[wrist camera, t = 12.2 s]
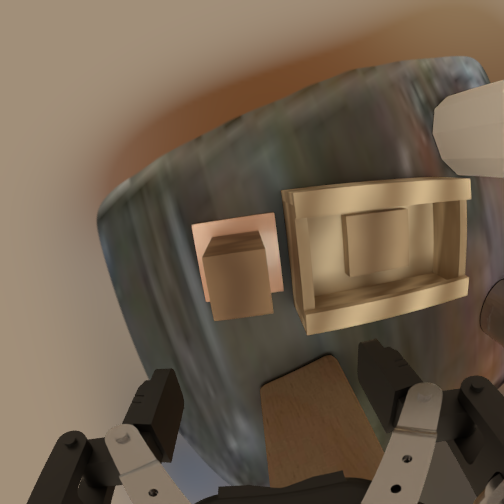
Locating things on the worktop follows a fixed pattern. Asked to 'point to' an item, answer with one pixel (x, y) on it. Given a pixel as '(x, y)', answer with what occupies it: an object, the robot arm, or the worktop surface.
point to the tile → (240, 225)
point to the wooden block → (316, 426)
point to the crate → (375, 248)
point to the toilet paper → (472, 131)
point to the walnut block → (237, 276)
